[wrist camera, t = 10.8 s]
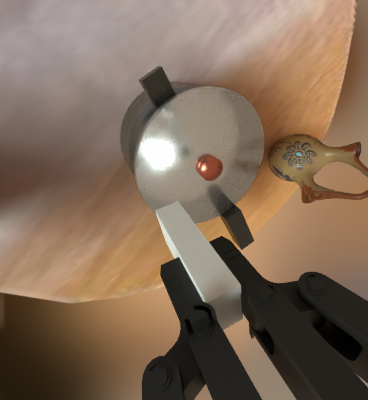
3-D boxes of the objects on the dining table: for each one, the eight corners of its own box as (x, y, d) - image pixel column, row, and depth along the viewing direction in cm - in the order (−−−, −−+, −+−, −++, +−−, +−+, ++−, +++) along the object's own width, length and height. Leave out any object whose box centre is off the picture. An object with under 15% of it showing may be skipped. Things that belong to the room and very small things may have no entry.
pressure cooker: (125, 60, 38) (148, 61, 27) (240, 97, 50) (289, 107, 39) (108, 192, 48) (119, 231, 37) (206, 197, 60) (237, 229, 49)
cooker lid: (100, 145, 30) (103, 153, 27) (238, 52, 31) (253, 51, 28) (198, 266, 49) (205, 277, 47) (280, 207, 50) (291, 214, 48)
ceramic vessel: (293, 113, 57) (409, 141, 38) (304, 137, 63) (411, 172, 43) (247, 162, 59) (334, 214, 40) (261, 181, 65) (345, 234, 45)
